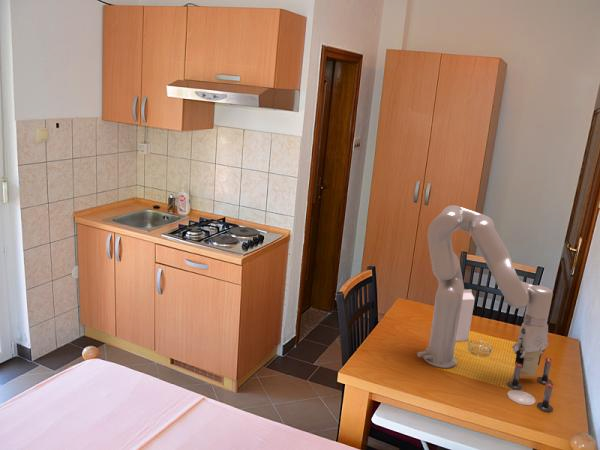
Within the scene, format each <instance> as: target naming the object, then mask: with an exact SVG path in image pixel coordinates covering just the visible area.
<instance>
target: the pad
mask: <svg viewBox="0 0 600 450" xmlns="http://www.w3.org/2000/svg"><path fill="white" fill-rule="evenodd" d="M507 397H508V398H509V400H511V401H512V402H514V403H516V404H519V405H523V406H533V405H535V404H536V398H535V397H534V396H533V395H532V394H530V393H529V392H526V391H524V390H515V389H512V390H511V389H510V390H509V391H507Z"/></svg>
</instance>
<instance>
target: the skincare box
mask: <svg viewBox="0 0 600 450" xmlns="http://www.w3.org/2000/svg"><path fill="white" fill-rule="evenodd" d="M522 348H523V347H522ZM541 348H542V346H540V350H539V351H536V352H526V353H525V355H524V356H523V358H524V363H523V367H522V368H521V372H520V376H526V377H527V376H529V377H536V376H537V370H538V367H539V365H538V362H539V357H540V353H541ZM522 351H523V350H521V351H520V352H521V353H522Z"/></svg>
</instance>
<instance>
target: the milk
mask: <svg viewBox="0 0 600 450" xmlns="http://www.w3.org/2000/svg"><path fill="white" fill-rule="evenodd" d="M472 291H473V290H472V289H471V288H469V289H464V293H463V299H462V305H461V310H460V316H459V322H458V329H457V335H456V342H460V341H464V342H465V341H468V340H469V336H470V331H471V330H470V329H471V325H472V324H471V323H472V317H473V311H474V308H475V307H474V306H475V301H476V300H475V297H474V295H473V293H472Z"/></svg>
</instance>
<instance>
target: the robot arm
mask: <svg viewBox="0 0 600 450" xmlns="http://www.w3.org/2000/svg"><path fill="white" fill-rule="evenodd" d="M457 230H459V231H463V232H466V233H469V234H470V237H471V238H472V240H473V242H474V244H475V245H476V247H477V249H478V251H479V252H480V254H481V256H482V258H483V260H484V262H485V263H486V265H487V267H488V270H489V271H490V272H491V275H492V277H493V279H494V282H495V283H496V285H497V287H498V289H499V291H500V292H501V294H502V296H503V297H504V299H505V301H506V302H507V304H508V305H509V306H510V307H512V308H514V309H523V308H525V307H526V308H525V313H524V318H523V322H522V324H521V327H520V328H519V332H518V335H517V336H518V337H517V341H516V342H515V343H514V345H512V350H513V352H514V354H515V361H514V364H515V363H516V362H520V363H522V367H523V363H524V358H523V356H524V355H525V353H526V352H536V351H539V350H540V346H542V348H541V353H540V357H539V362H538V366H540V362H541V358H542V355H543V354H544V352H545V350H546V348H548V346H549V344H550V343H549V342H548V337H549V324H548V321H549V320H548V319H549V314H550V310H551V304H552V299H553V295H554V293H553V291H552V289H551V288H549V287H547V286H544V285H534V284H530V283H528V282H525V281H522V280H521V279H520V278H519V275H518V274H517V272H516V269H515V267H514V264H513V260H512V257H511V255H510V252H509V250H508V248H507V247H506V245H505V244H504V242H503V240H502V238H501V237H500V235H499V233H498V231H497V229H496V228H495V222H494V220H493V219H492V218H491V217H490V216H487V215H485V214H484V213H480V212H477V211H474V210H471V209H468V208H466V207H462V206H459V205H453V204H452V205H448V206H446V207H445V208H443V209H442V210H441V212H440V213H439V214H438V215H437V216H435V218H434V219H433V220H431V222H430V223H429V226H428V229H427V234H426V235H427V236H426V237H427V242H428V243H427V245H428V249H429V255H430V257H429V258H430V263H431V271H432V273H433V275H434V277H436V280H437V284H438V287H437V290H436V293H435V298H434V307H433V313H432V321H431V322H432V323H431V330H430V335H429V336H430V337H429V343H428V347H425V350H423V351H417V352H416V354H417V357H418V358H421V357H422V359H423V360H424V361H425V362H426V363H427V364H429V365H431V366H433V367H437V368H443V369H451V368H454V367H455V366H456V365H457V361H458V360H457V359H456V357H455V356H454V354H455V348H456V342H457V341H456V335H457V329H458V322H459V316H460V310H461V305H462V299H463V293H464V290H465V286H464V280H463V274H462V267H461V264H460V260H459V257H458V255H457V254H456V253H455V251H454V249H453V247H454V246H453V242H452V235H453V233H454V232H456V231H457ZM522 347H523V348H522ZM521 350H523V351H522V353H521V352H520V351H521ZM522 367H521V368H522Z"/></svg>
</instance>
